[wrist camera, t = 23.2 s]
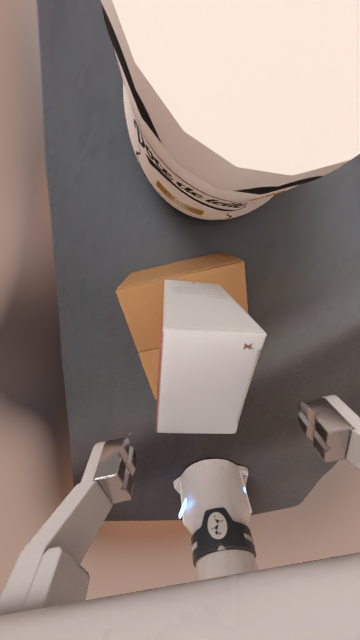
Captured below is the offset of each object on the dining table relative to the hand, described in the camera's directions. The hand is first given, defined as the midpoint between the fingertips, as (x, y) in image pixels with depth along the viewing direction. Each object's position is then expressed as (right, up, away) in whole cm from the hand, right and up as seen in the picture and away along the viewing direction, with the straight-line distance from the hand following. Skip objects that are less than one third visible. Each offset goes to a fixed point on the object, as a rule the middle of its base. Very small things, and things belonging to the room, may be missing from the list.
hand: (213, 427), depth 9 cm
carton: (-1, +7, +21) cm, 22 cm away
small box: (-1, +5, +12) cm, 13 cm away
